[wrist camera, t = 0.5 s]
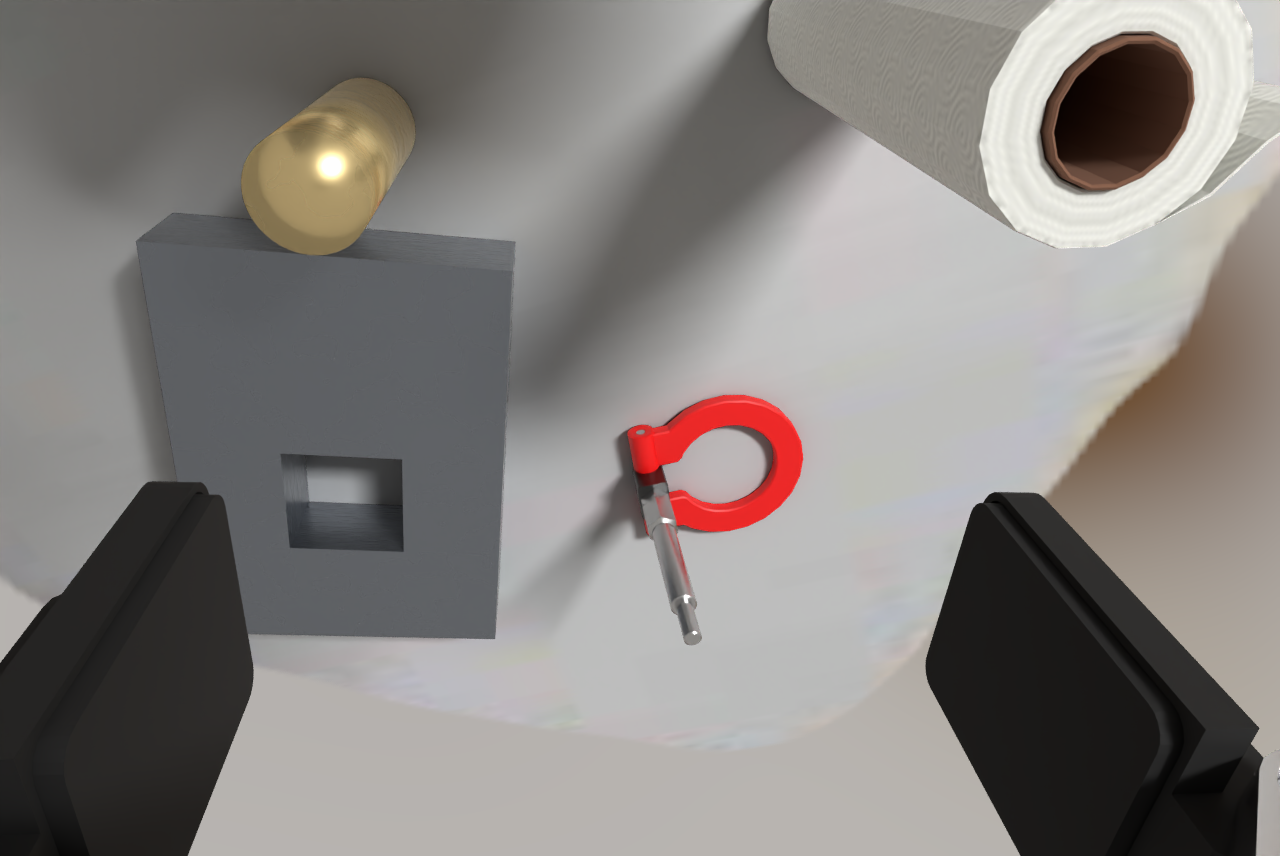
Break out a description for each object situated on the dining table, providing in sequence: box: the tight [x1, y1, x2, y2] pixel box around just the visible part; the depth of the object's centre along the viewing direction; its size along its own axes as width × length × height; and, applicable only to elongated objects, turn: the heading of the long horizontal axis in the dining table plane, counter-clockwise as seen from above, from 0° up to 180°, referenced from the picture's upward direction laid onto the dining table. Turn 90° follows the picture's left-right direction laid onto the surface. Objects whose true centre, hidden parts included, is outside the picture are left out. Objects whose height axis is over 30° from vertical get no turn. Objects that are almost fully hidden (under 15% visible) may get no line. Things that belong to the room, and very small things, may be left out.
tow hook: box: [628, 395, 803, 645], centre depth 42 cm, size 8×13×9 cm
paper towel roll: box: [767, 0, 1280, 248], centre depth 28 cm, size 7×6×21 cm
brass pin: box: [241, 78, 416, 255], centre depth 32 cm, size 4×4×11 cm
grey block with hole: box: [136, 213, 515, 639], centre depth 43 cm, size 21×15×4 cm
